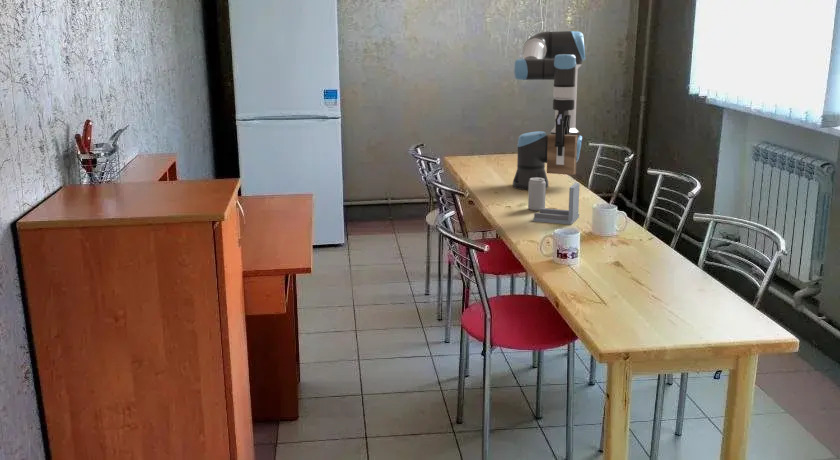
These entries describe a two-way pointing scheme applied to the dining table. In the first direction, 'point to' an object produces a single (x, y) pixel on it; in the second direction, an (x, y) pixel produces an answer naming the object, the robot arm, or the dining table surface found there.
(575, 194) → the door track
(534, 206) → the beverage can
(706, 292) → the dining table surface
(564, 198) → the dining table surface
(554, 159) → the door panel
